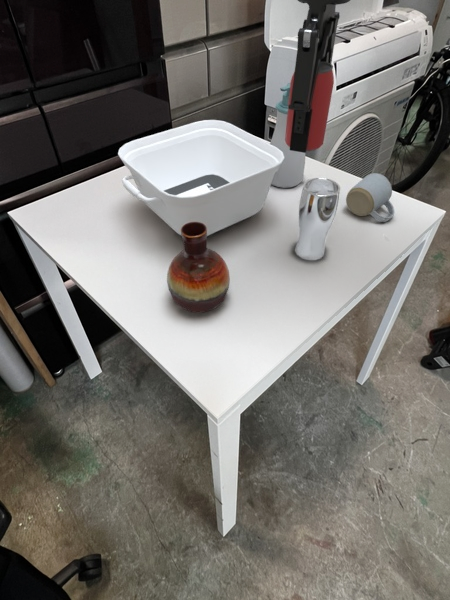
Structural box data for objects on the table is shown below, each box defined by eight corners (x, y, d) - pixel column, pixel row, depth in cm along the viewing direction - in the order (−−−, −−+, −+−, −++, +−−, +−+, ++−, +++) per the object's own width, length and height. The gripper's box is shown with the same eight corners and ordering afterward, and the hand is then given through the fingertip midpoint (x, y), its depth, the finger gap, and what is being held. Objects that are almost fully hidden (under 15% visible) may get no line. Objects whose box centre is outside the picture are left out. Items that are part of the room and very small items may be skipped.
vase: (207, 269, 75) (203, 201, 63) (242, 301, 68) (243, 232, 57) (159, 293, 70) (145, 225, 59) (191, 329, 64) (182, 261, 53)
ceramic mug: (340, 210, 88) (348, 181, 83) (358, 197, 92) (367, 167, 86) (381, 229, 83) (392, 199, 77) (398, 214, 87) (410, 184, 81)
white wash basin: (225, 168, 104) (224, 113, 93) (297, 214, 88) (306, 153, 77) (112, 210, 90) (96, 151, 79) (173, 274, 74) (162, 210, 63)
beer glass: (286, 247, 79) (294, 182, 68) (312, 237, 81) (325, 173, 70) (305, 266, 75) (318, 200, 64) (333, 255, 77) (349, 190, 66)
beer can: (279, 138, 66) (286, 61, 58) (314, 134, 67) (326, 57, 58) (291, 155, 62) (301, 73, 53) (329, 150, 63) (344, 69, 54)
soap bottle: (257, 179, 99) (262, 84, 83) (282, 167, 104) (291, 75, 87) (285, 193, 94) (296, 95, 78) (310, 180, 98) (325, 84, 82)
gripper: (341, -29, 40) (310, 171, 57) (371, -45, 52) (338, 124, 69) (275, -31, 42) (263, 162, 59) (319, -45, 55) (299, 118, 71)
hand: (304, 141), depth 64 cm, fingers closed on beer can, 7 cm apart
